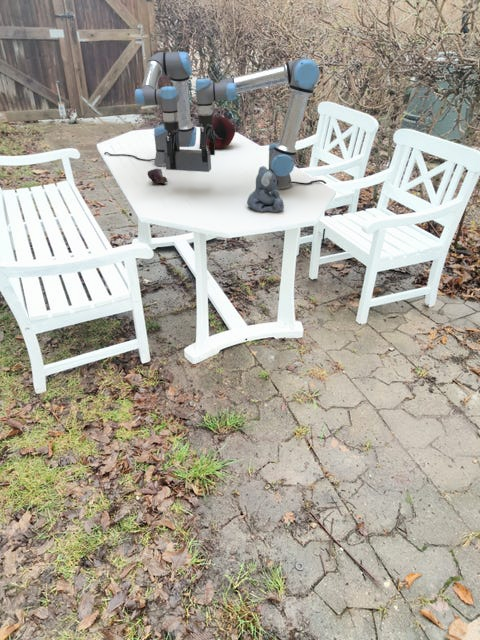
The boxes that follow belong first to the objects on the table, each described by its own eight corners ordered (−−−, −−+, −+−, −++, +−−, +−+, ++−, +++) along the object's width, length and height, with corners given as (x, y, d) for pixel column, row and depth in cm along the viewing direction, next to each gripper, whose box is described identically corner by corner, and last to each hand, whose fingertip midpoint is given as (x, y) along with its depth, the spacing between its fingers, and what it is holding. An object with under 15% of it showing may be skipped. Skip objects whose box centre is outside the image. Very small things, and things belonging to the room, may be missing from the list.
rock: (162, 181, 267) (146, 183, 263) (160, 166, 263) (144, 168, 259) (169, 183, 258) (152, 185, 254) (167, 168, 254) (150, 170, 250)
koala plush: (284, 213, 221) (286, 172, 209) (248, 214, 219) (248, 174, 208) (279, 200, 235) (281, 162, 224) (245, 202, 234) (245, 163, 223)
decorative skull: (200, 122, 333) (198, 119, 310) (231, 115, 333) (232, 111, 309) (207, 152, 340) (206, 151, 317) (237, 145, 339) (238, 143, 316)
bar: (166, 169, 240) (164, 151, 234) (169, 166, 244) (167, 148, 238) (208, 172, 235) (207, 153, 230) (211, 169, 239) (210, 150, 234)
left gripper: (171, 125, 219) (176, 173, 233) (183, 117, 234) (187, 163, 247) (157, 124, 221) (162, 172, 234) (170, 117, 235) (174, 162, 249)
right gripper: (205, 119, 211) (209, 165, 223) (219, 109, 231) (221, 152, 243) (190, 119, 212) (194, 165, 224) (205, 109, 232) (208, 152, 244)
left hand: (175, 167), depth 241 cm, fingers closed on bar, 5 cm apart
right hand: (208, 158), depth 234 cm, fingers open, 13 cm apart
